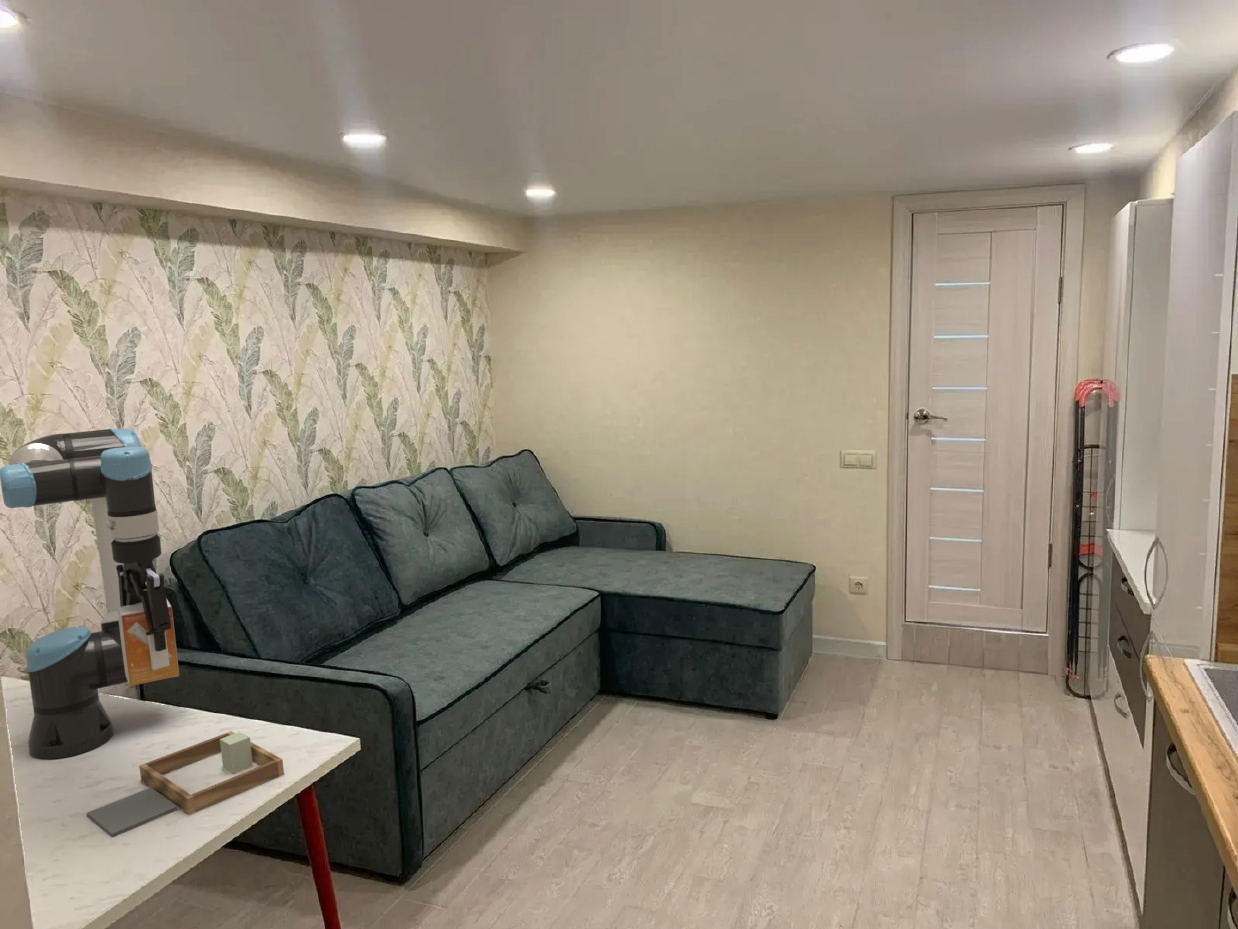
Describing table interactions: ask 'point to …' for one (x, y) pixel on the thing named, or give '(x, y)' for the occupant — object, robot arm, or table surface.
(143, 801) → the mat
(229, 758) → the sage block
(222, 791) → the bin
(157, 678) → the small box
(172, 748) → the table surface
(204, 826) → the table surface
